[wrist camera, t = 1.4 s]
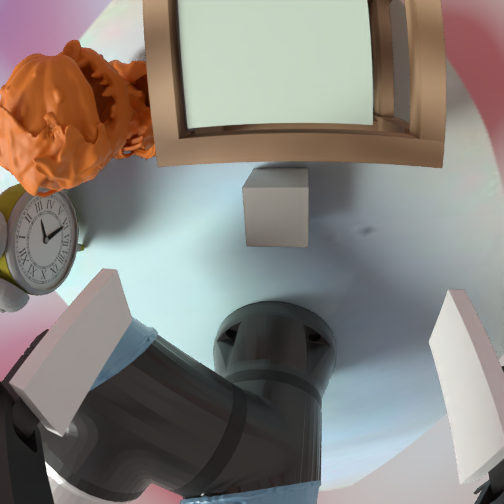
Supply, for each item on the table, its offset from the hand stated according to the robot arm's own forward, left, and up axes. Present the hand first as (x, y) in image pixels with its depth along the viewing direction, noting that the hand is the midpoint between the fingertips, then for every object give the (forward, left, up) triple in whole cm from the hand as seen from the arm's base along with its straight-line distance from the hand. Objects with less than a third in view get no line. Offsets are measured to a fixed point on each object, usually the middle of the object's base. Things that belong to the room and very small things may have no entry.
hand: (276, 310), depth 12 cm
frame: (+11, -1, -20) cm, 23 cm away
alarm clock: (-3, +27, -20) cm, 34 cm away
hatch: (+11, +1, -9) cm, 14 cm away
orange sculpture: (+8, +14, -20) cm, 26 cm away
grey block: (-2, +1, -20) cm, 20 cm away
